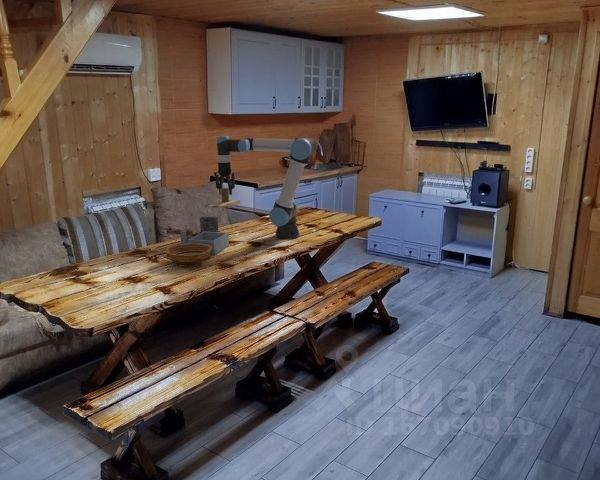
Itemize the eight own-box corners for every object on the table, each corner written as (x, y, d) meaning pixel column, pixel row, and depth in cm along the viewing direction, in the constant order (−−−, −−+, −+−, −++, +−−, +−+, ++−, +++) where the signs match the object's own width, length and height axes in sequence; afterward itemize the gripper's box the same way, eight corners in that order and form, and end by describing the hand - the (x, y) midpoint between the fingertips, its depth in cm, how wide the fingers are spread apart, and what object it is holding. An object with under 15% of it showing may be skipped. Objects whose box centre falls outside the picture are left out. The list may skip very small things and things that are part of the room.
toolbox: (228, 246, 318) (227, 226, 315) (214, 255, 300) (213, 234, 297) (195, 243, 324) (194, 224, 321) (179, 252, 306) (177, 232, 302)
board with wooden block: (240, 202, 333) (239, 187, 330) (228, 208, 315) (227, 193, 313) (217, 201, 337) (217, 187, 334) (204, 207, 319) (203, 192, 317)
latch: (192, 233, 309) (192, 228, 308) (190, 234, 306) (190, 229, 305) (169, 232, 313) (169, 226, 312) (166, 233, 310) (166, 228, 309)
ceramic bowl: (179, 274, 267) (178, 259, 265) (152, 265, 283) (151, 250, 281) (225, 261, 288) (224, 247, 286) (198, 253, 304) (197, 239, 302)
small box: (218, 231, 353) (218, 216, 350) (216, 234, 346) (215, 218, 344) (203, 231, 354) (202, 216, 351) (200, 234, 347) (199, 218, 345)
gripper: (239, 161, 325) (241, 199, 331) (213, 160, 330) (215, 198, 336) (235, 162, 318) (236, 201, 324) (208, 162, 323) (210, 200, 329)
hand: (226, 199), depth 330 cm, fingers closed on board with wooden block, 4 cm apart
